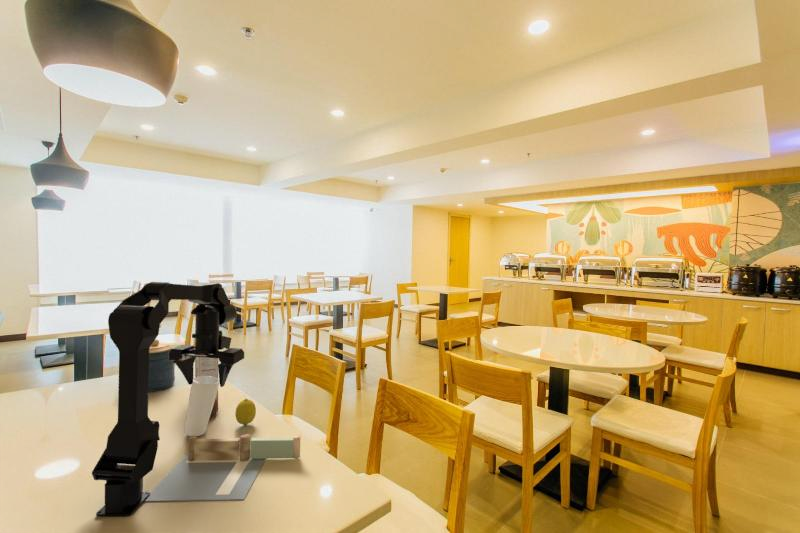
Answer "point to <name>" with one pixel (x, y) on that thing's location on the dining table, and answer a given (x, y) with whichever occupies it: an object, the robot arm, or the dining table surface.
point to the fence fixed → (219, 449)
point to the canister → (160, 366)
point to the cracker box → (207, 368)
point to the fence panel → (275, 448)
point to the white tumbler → (201, 404)
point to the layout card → (207, 480)
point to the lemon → (245, 412)
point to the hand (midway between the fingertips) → (206, 385)
